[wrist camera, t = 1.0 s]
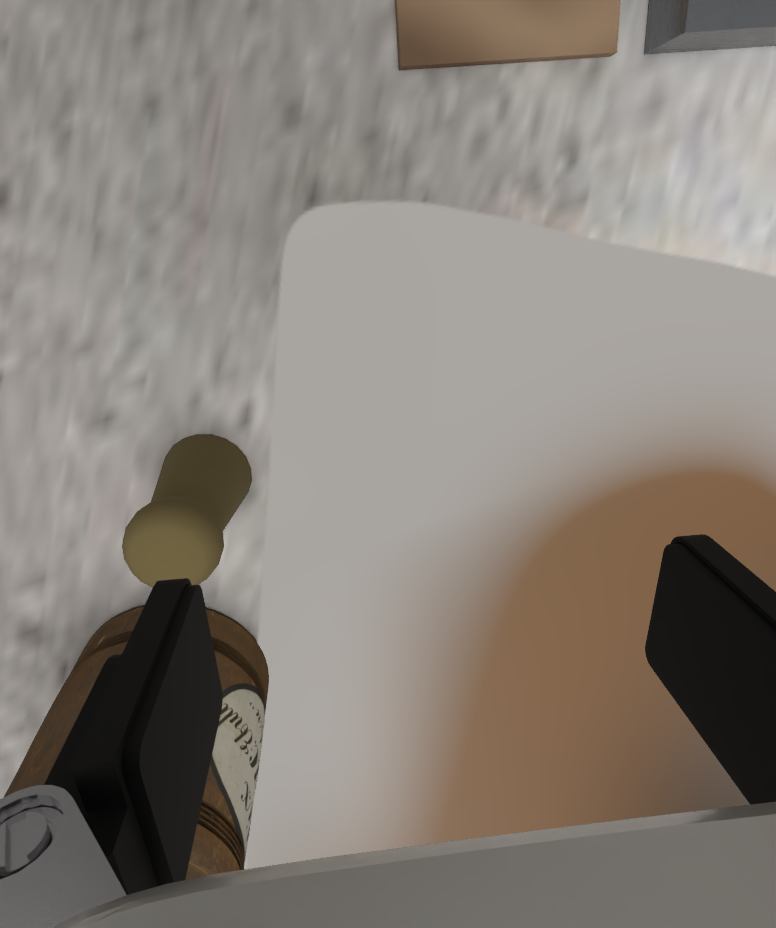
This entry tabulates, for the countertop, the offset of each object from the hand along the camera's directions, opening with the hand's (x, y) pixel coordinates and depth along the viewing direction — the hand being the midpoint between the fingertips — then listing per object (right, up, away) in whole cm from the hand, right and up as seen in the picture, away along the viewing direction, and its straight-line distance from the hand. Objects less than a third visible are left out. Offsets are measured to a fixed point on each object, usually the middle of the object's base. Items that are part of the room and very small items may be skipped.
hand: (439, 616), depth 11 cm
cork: (-14, +2, +28) cm, 31 cm away
